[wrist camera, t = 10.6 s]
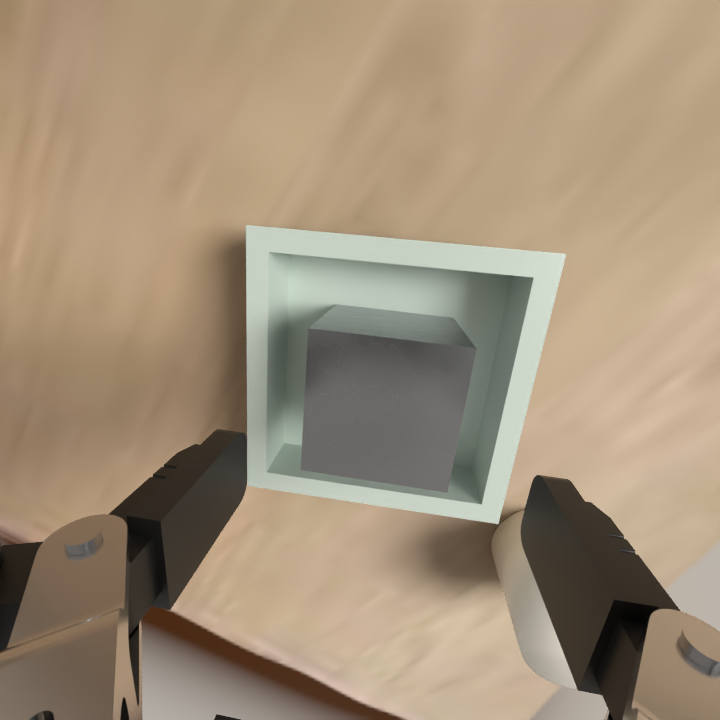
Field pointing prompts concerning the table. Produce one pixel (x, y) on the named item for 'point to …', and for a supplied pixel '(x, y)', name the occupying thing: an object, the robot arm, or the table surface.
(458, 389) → the iron cube
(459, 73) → the table surface
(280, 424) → the tote
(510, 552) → the cream tapered egg shape
